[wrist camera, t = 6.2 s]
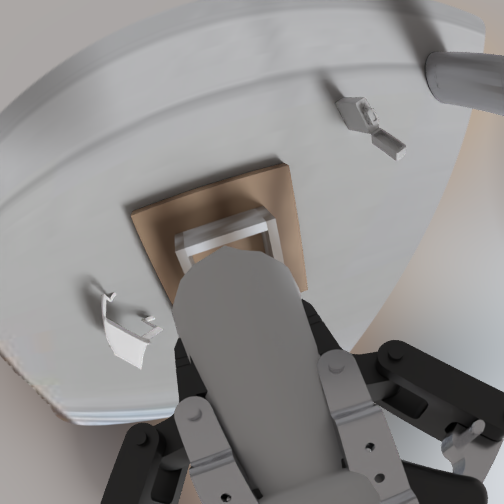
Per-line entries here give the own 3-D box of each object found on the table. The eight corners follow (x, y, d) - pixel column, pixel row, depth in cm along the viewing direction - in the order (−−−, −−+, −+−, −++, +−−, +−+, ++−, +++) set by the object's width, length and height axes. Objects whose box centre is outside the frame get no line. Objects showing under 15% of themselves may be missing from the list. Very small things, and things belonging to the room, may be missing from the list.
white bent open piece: (176, 329, 38) (178, 354, 34) (135, 351, 38) (134, 375, 34) (121, 272, 31) (115, 296, 27) (80, 302, 32) (71, 326, 27)
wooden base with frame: (283, 162, 30) (304, 172, 26) (303, 283, 40) (320, 306, 35) (132, 211, 28) (124, 230, 24) (186, 324, 38) (189, 352, 33)
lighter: (334, 103, 28) (376, 104, 21) (344, 96, 28) (387, 97, 21) (359, 149, 32) (400, 162, 25) (367, 143, 32) (410, 155, 25)
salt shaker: (148, 269, 13) (171, 588, 2) (250, 206, 12) (463, 509, 1) (211, 337, 16) (277, 556, 5) (295, 288, 16) (426, 494, 5)
